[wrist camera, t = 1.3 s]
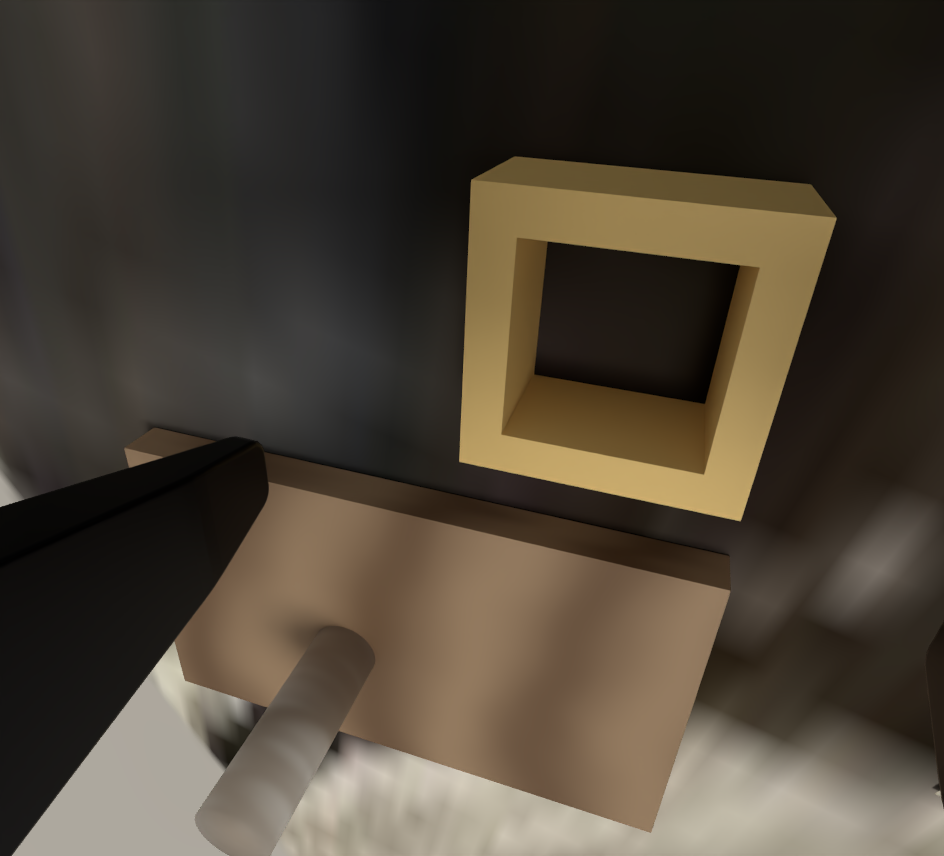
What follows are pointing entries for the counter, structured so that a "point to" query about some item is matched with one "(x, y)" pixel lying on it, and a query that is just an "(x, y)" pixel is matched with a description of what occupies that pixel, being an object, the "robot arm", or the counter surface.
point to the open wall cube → (620, 411)
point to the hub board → (445, 644)
